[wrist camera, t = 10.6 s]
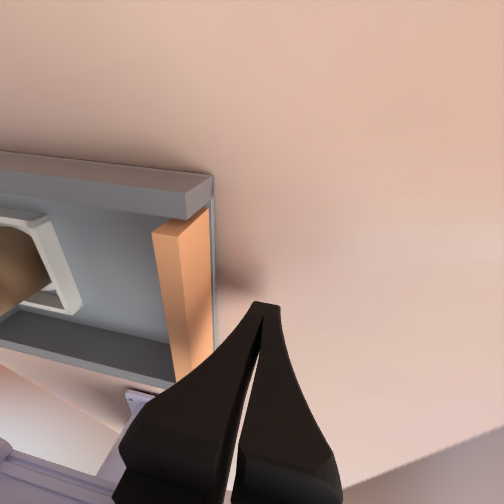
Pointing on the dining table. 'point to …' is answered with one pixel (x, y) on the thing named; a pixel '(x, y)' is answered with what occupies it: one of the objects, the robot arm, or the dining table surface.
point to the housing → (98, 261)
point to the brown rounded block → (19, 268)
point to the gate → (186, 288)
